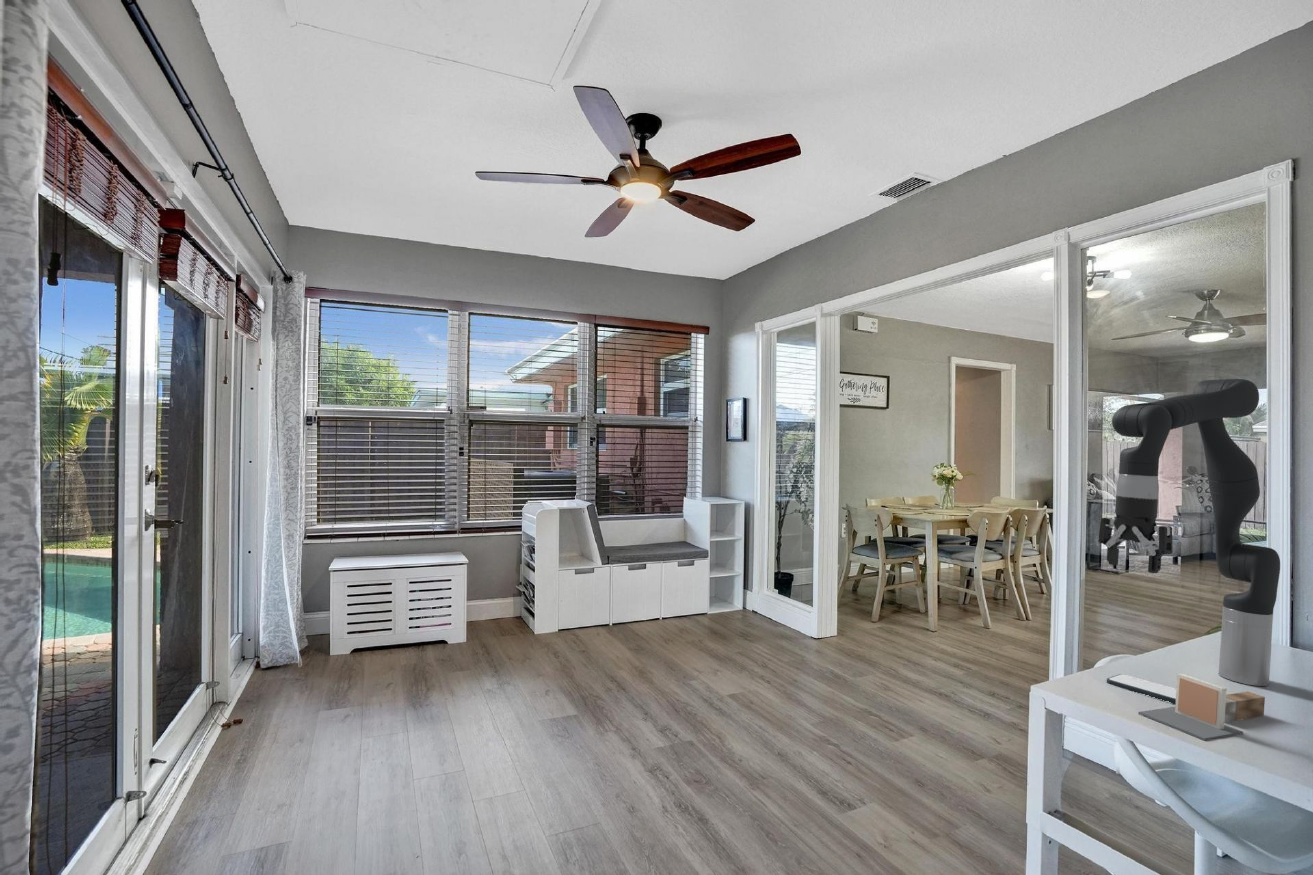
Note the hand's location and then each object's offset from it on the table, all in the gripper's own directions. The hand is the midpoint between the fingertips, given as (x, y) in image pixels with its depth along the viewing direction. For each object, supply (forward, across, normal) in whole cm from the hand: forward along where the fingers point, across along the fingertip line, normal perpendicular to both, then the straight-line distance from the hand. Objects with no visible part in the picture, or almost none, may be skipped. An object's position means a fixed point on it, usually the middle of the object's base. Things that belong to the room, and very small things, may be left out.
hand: (1132, 568), depth 145 cm
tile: (+28, -13, -2) cm, 31 cm away
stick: (+29, -13, -14) cm, 35 cm away
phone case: (+29, +1, -10) cm, 31 cm away
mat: (+28, -13, +1) cm, 32 cm away
